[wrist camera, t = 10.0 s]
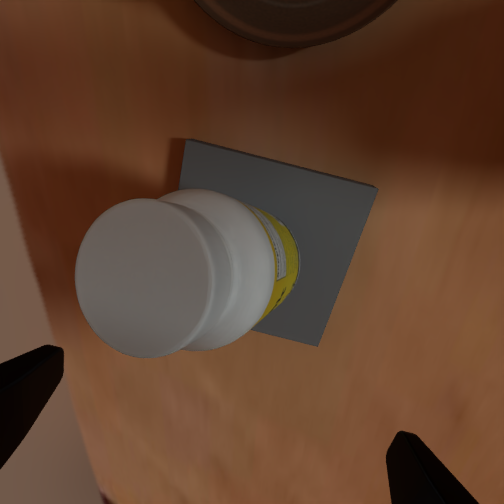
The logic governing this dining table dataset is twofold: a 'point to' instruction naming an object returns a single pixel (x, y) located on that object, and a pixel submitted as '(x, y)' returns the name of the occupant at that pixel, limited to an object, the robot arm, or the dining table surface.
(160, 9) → the dining table surface
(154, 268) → the supplement bottle
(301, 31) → the cup and saucer
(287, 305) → the charcoal block
